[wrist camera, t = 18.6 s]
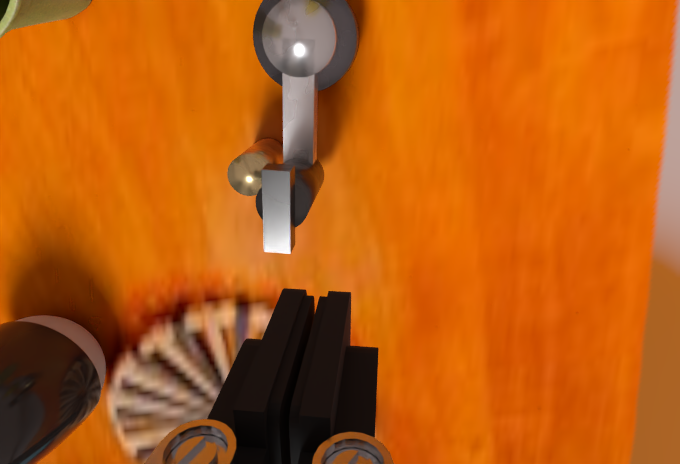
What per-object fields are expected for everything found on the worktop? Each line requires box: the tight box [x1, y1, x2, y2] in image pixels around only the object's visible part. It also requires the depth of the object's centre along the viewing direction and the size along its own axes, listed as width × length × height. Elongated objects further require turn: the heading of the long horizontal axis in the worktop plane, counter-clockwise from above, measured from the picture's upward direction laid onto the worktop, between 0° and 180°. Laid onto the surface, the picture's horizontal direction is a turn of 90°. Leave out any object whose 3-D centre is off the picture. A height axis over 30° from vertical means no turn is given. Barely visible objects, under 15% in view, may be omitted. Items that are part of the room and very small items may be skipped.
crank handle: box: [256, 0, 338, 254], centre depth 24 cm, size 12×4×7 cm, turn 178°
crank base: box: [228, 0, 359, 196], centre depth 27 cm, size 12×7×5 cm, turn 0°
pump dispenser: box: [0, 315, 106, 464], centre depth 33 cm, size 10×10×15 cm
